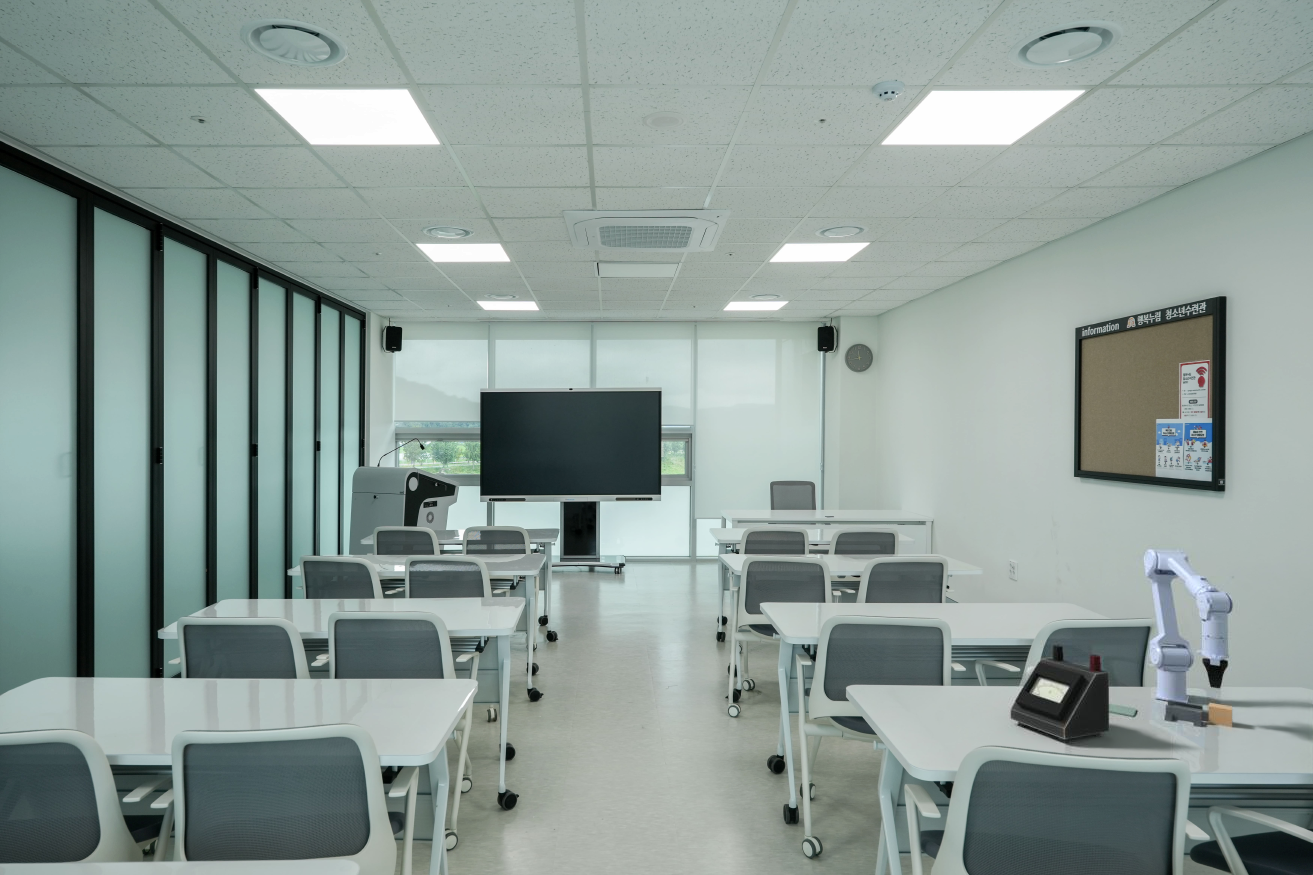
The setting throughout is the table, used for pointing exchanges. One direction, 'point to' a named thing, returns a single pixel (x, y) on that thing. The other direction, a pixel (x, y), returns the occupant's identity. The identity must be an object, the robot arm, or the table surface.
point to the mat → (1122, 710)
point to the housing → (1184, 712)
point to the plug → (1216, 714)
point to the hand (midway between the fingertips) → (1215, 686)
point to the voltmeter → (1064, 698)
